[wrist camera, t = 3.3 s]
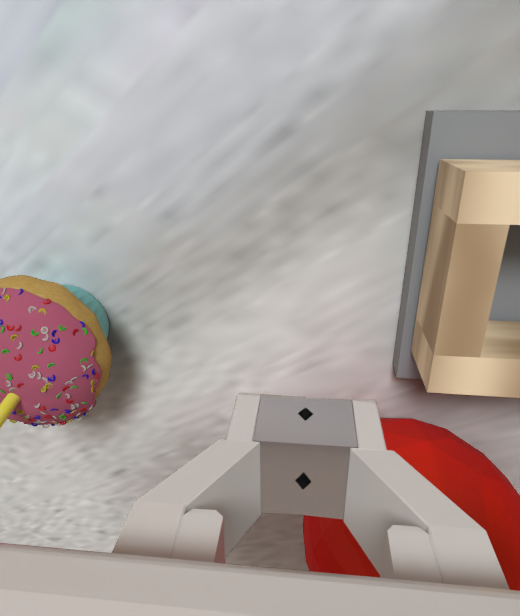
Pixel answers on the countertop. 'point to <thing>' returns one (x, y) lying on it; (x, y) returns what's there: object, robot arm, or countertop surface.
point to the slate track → (436, 145)
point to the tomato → (445, 477)
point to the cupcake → (50, 351)
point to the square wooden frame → (468, 282)
